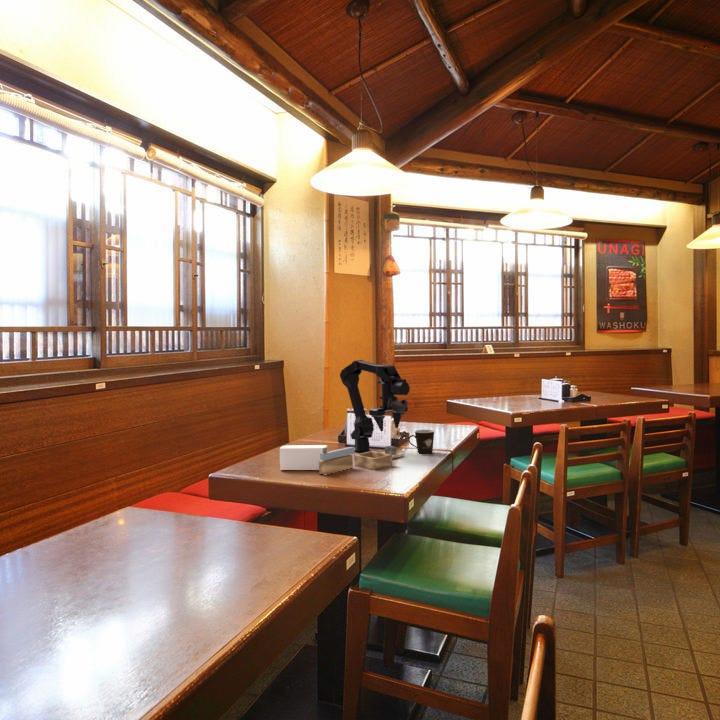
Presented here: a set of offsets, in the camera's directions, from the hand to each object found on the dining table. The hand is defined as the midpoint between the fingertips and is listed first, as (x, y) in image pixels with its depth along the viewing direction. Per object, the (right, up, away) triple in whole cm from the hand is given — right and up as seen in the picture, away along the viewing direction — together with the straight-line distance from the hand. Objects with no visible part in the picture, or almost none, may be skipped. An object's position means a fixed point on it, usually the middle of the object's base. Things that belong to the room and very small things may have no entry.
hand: (389, 429), depth 242 cm
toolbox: (-7, -13, -15) cm, 21 cm away
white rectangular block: (-36, -14, -17) cm, 42 cm away
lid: (-1, -12, +2) cm, 12 cm away
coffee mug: (+15, -12, +6) cm, 20 cm away
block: (-22, -8, -22) cm, 32 cm away
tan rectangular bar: (-22, -14, -22) cm, 34 cm away
